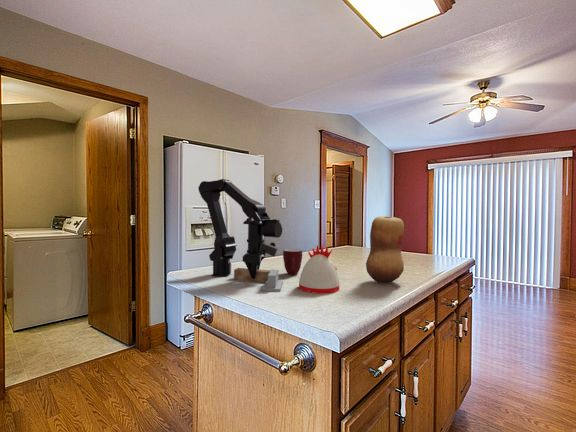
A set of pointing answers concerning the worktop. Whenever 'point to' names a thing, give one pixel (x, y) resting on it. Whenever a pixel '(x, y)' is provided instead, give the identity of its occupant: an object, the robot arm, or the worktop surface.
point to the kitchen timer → (319, 273)
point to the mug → (292, 260)
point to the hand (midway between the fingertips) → (255, 277)
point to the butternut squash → (385, 249)
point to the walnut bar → (245, 275)
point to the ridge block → (273, 282)
